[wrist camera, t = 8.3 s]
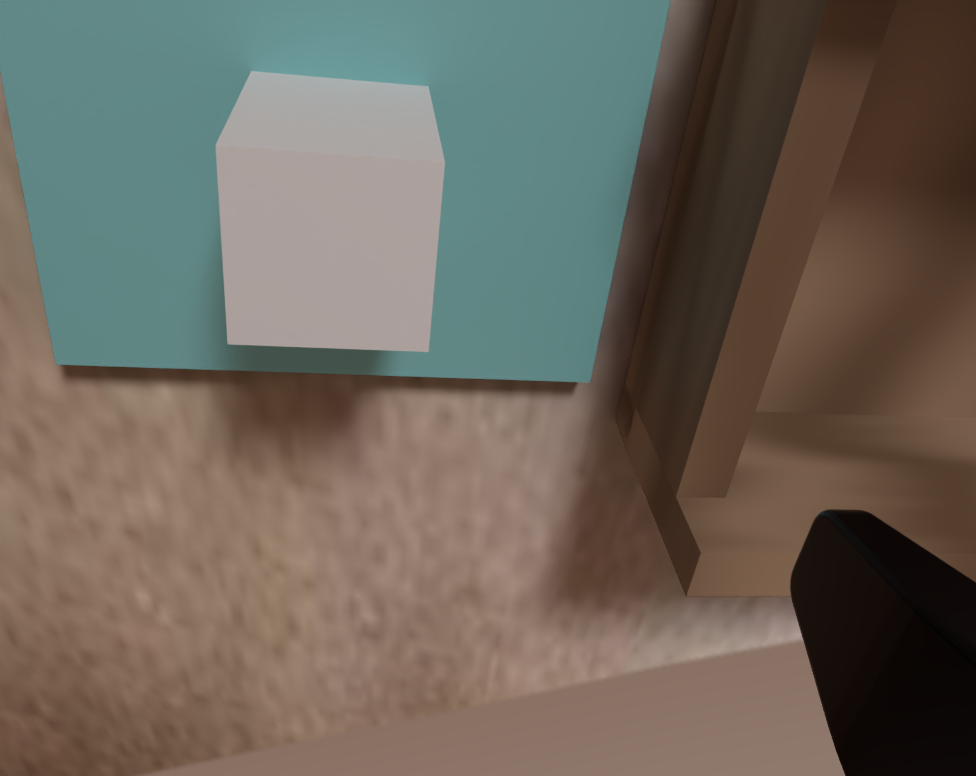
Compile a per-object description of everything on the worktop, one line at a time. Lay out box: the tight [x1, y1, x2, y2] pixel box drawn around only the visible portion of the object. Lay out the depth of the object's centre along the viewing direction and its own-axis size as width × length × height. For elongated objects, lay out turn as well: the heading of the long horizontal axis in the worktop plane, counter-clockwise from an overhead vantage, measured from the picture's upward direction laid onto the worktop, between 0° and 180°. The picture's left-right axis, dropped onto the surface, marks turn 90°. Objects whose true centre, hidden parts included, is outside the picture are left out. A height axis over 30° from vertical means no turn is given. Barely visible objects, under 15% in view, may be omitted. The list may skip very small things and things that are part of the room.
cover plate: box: [0, 0, 670, 382], centre depth 14 cm, size 11×9×5 cm
